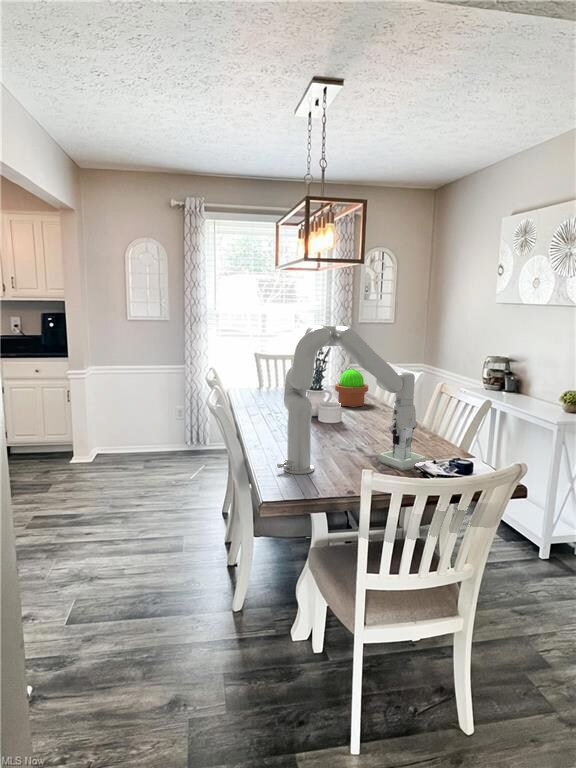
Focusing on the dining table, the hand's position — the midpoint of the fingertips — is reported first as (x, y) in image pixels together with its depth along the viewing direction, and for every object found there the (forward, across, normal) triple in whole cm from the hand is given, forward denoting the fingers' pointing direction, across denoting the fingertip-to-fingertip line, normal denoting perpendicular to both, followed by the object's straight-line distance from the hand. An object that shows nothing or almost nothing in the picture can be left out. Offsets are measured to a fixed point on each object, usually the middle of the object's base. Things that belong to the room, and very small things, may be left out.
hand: (402, 442), depth 204 cm
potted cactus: (+9, +59, +104) cm, 120 cm away
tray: (+9, 0, 0) cm, 9 cm away
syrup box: (+7, 0, 0) cm, 7 cm away
